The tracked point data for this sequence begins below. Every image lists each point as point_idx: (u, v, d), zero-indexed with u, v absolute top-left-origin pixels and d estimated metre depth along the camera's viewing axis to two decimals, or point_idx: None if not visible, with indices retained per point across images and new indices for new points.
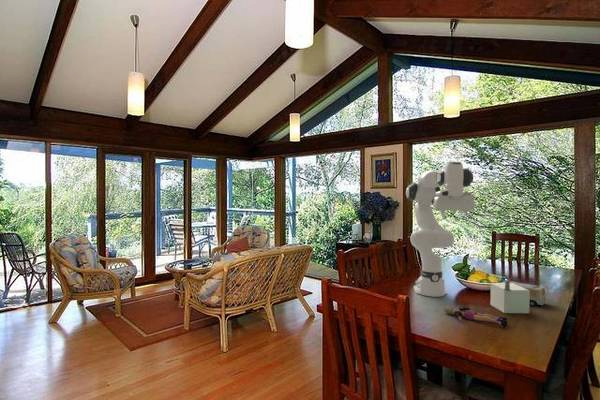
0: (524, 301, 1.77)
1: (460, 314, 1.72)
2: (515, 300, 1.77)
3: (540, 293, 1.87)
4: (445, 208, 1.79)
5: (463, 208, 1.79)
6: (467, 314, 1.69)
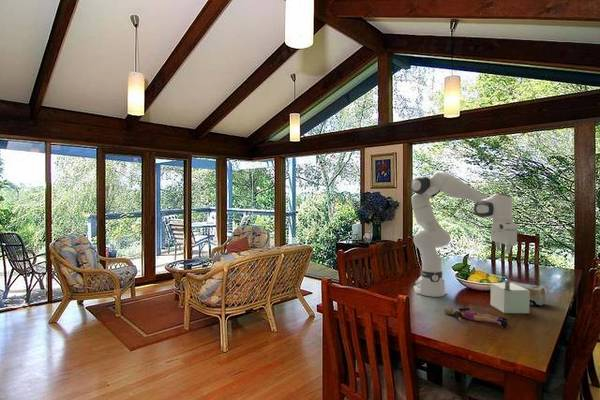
0: (524, 301, 1.77)
1: (460, 314, 1.72)
2: (515, 300, 1.77)
3: (539, 293, 1.87)
4: None
5: None
6: (467, 314, 1.69)
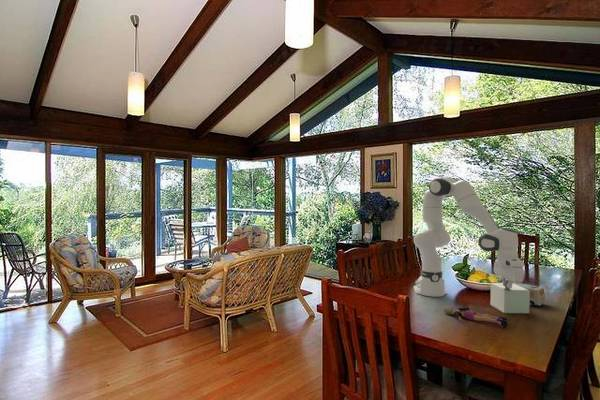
0: (524, 301, 1.77)
1: (460, 314, 1.72)
2: (515, 300, 1.77)
3: (538, 293, 1.87)
4: None
5: None
6: (467, 314, 1.69)
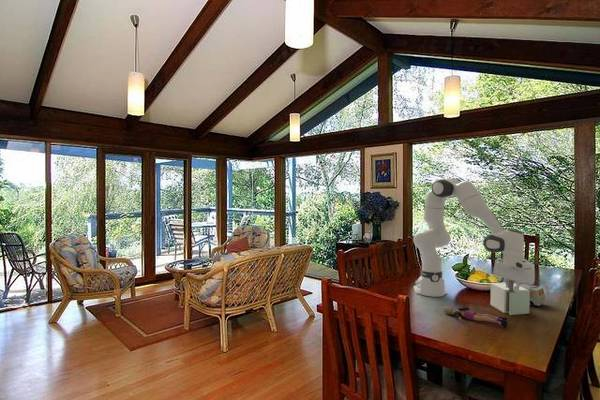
0: (525, 301, 1.76)
1: (460, 314, 1.71)
2: (518, 301, 1.75)
3: (537, 293, 1.87)
4: None
5: None
6: (467, 314, 1.69)
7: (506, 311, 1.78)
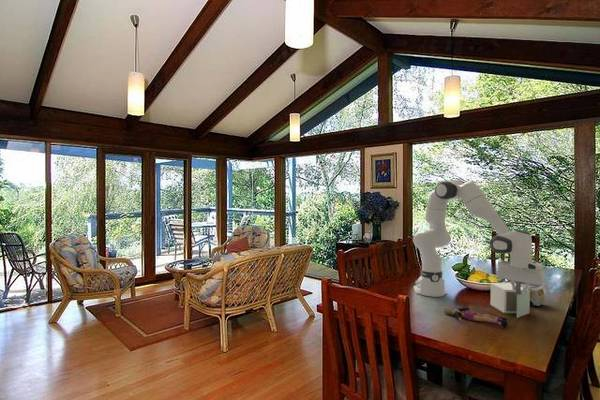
0: (527, 302, 1.76)
1: (460, 315, 1.71)
2: (522, 302, 1.73)
3: (536, 293, 1.86)
4: None
5: None
6: (467, 315, 1.68)
7: (506, 311, 1.78)
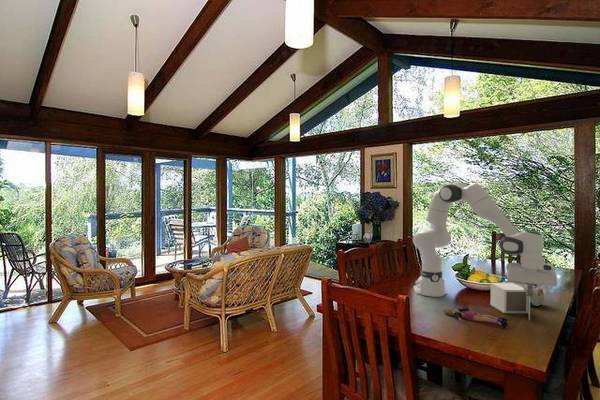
0: (529, 302, 1.75)
1: (460, 315, 1.71)
2: None
3: (535, 294, 1.86)
4: None
5: None
6: (467, 315, 1.68)
7: (506, 311, 1.78)
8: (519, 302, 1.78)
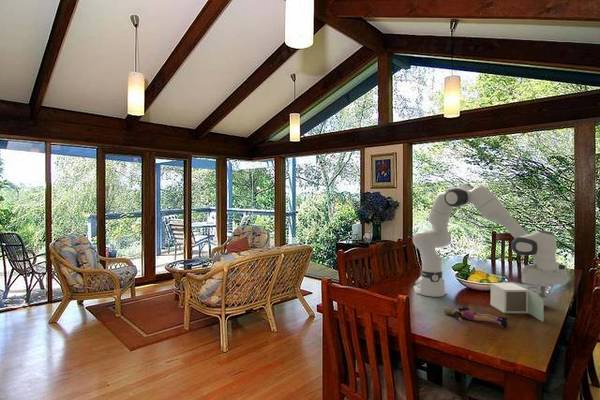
0: None
1: (460, 314, 1.71)
2: None
3: None
4: None
5: None
6: (467, 314, 1.68)
7: (506, 311, 1.78)
8: (519, 302, 1.78)
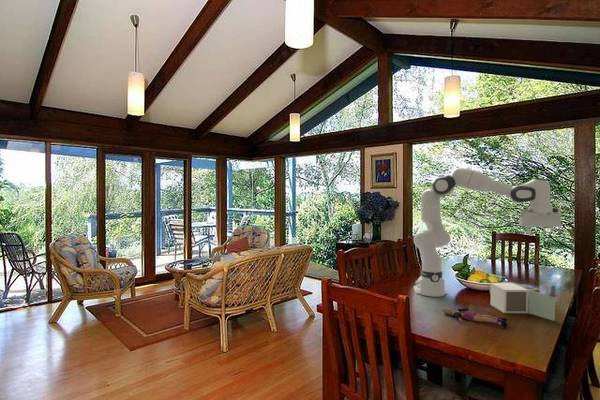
0: None
1: (459, 315, 1.71)
2: None
3: None
4: None
5: None
6: (467, 315, 1.68)
7: (506, 311, 1.78)
8: (519, 302, 1.78)
